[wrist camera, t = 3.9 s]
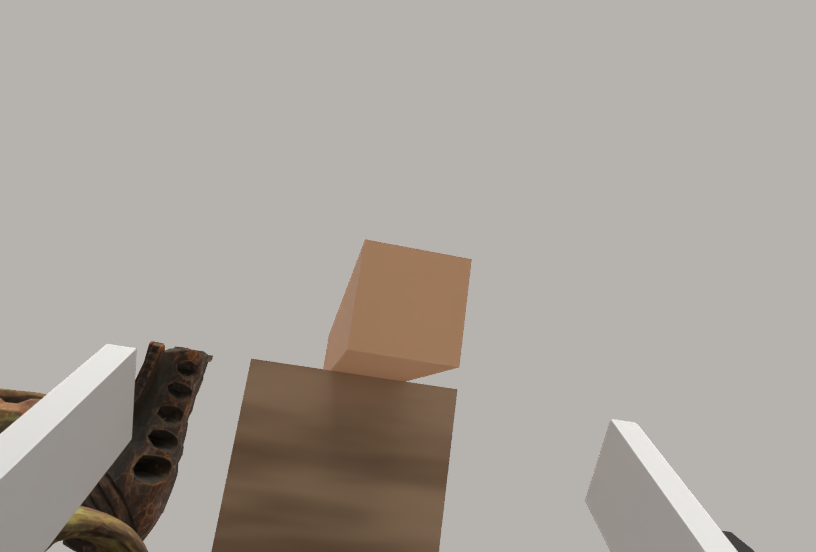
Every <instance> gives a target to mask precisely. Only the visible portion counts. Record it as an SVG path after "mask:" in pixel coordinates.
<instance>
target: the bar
mask: <svg viewBox="0 0 816 552" xmlns="http://www.w3.org/2000/svg"><path fill="white" fill-rule="evenodd" d="M470 269H471V259H467V258H462V257H456V256H451V255H445V254H440V253H435V252H429V251H424V250H419V249H413V248H408V247H403V246H397V245H392V244H386V243H381V242H376V241H371V240H365V241H364V244H363V246H362V249H361V252H360V255H359V257H358V260H357V263H356V265H355V268H354V270H353V273H352V276H351V279H350V281H349V284H348V287H347V289H346V292H345V294H344V297H343V299H342V302H341V305H340V308H339V310H338V313H337V315H336V318H335V321H334V323H333V326H332V329H331V332H330V334H329V339H328V344H327V350H326V356H325V362H324V367H323V370H330V371H337V372H343V373H350V374H357V375H364V376H370V377H377V378H384V379H390V380H397V381H404V382H405V381H409V380H413V379H417V378H420V377H424V376H428V375H432V374H436V373H439V372H443V371H447V370H451V369H454V368H458V367H459V363H460V356H461V347H462V337H463V330H464V320H465V312H466V303H467V295H468V286H469V277H470Z"/></svg>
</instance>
